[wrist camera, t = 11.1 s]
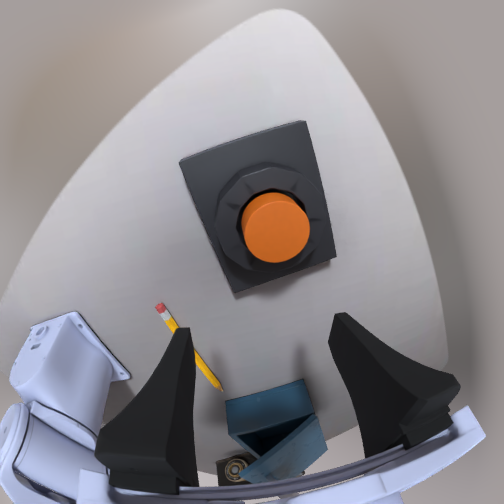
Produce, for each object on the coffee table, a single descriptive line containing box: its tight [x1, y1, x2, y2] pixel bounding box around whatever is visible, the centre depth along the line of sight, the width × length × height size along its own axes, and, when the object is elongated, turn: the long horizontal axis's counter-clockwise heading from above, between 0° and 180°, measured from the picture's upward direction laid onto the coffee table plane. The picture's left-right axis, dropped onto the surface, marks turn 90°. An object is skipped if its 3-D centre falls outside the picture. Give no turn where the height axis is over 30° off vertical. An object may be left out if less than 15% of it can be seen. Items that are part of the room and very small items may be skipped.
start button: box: [241, 193, 310, 263], centre depth 15 cm, size 4×4×2 cm
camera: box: [216, 452, 305, 486], centre depth 34 cm, size 16×7×8 cm, turn 124°
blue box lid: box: [238, 414, 328, 499], centre depth 23 cm, size 10×13×5 cm
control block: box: [179, 121, 337, 293], centre depth 17 cm, size 10×8×3 cm
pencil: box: [155, 303, 223, 392], centre depth 24 cm, size 1×13×1 cm, turn 18°
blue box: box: [225, 379, 316, 459], centre depth 29 cm, size 9×13×5 cm
